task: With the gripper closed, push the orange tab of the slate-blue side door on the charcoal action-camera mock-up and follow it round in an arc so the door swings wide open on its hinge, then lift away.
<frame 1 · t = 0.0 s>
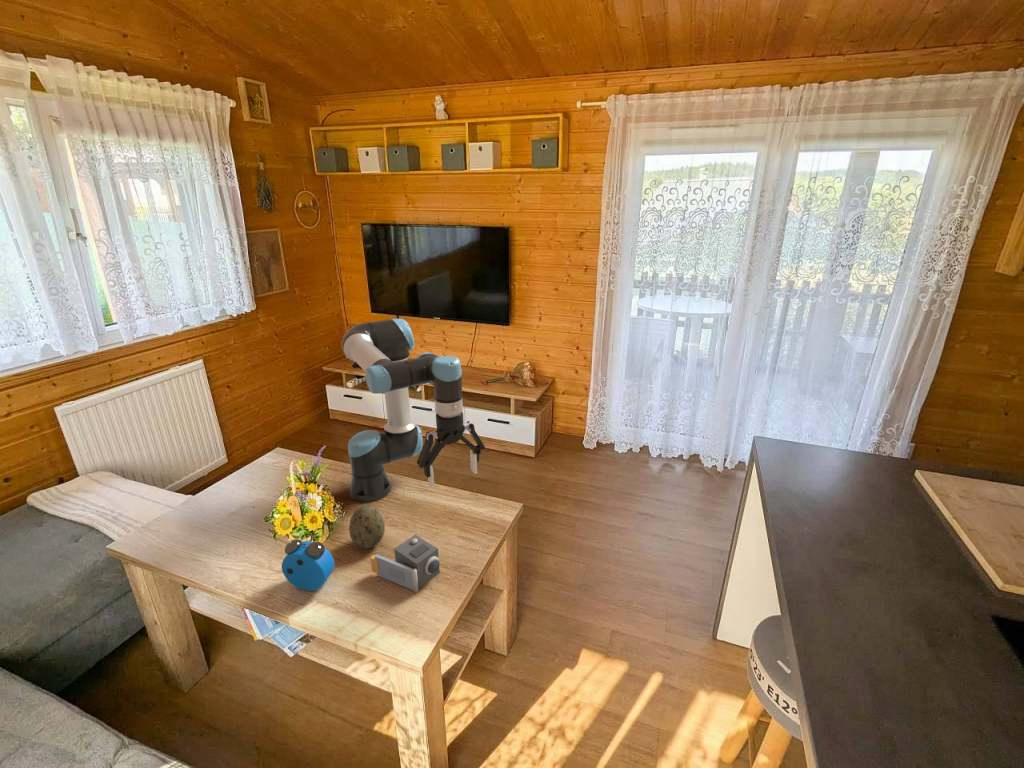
hand: (453, 478, 139), 28 cm above the table, fingers open, 13 cm apart
camera body: (418, 572, 143), on the table
decorative egg: (369, 545, 154), on the table
side door: (394, 572, 138), point 4 cm above the table, hinge at 12.0°
alarm clock: (312, 584, 139), on the table
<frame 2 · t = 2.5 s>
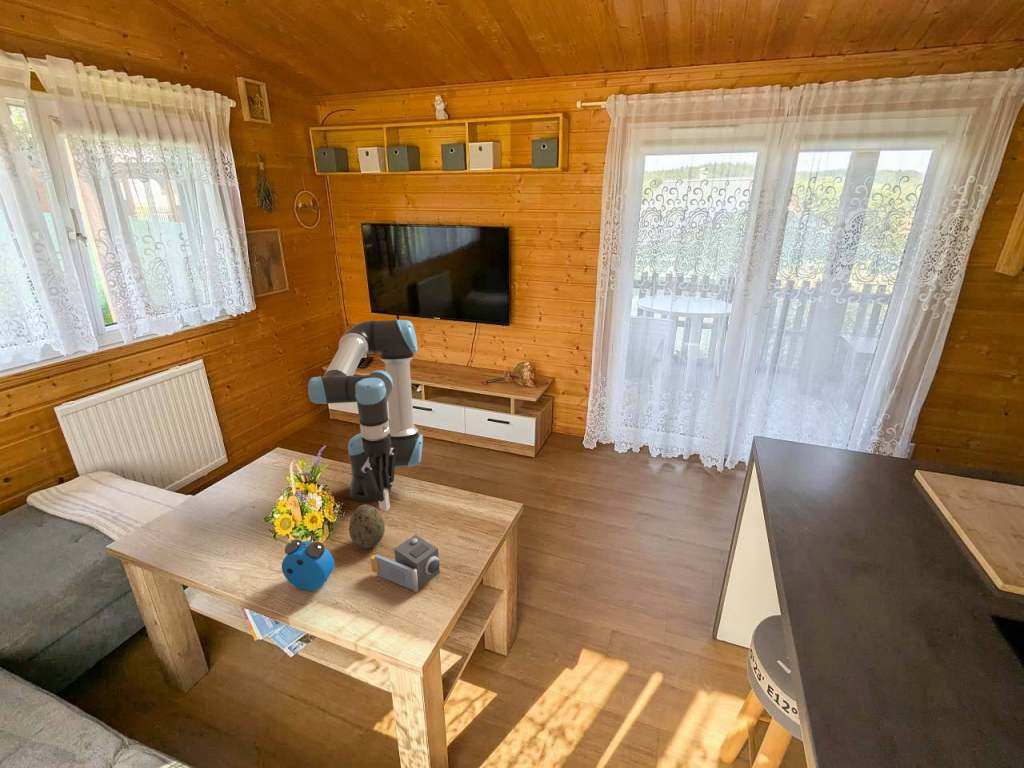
hand: (384, 507, 138), 21 cm above the table, fingers closed
nothing on the table moved.
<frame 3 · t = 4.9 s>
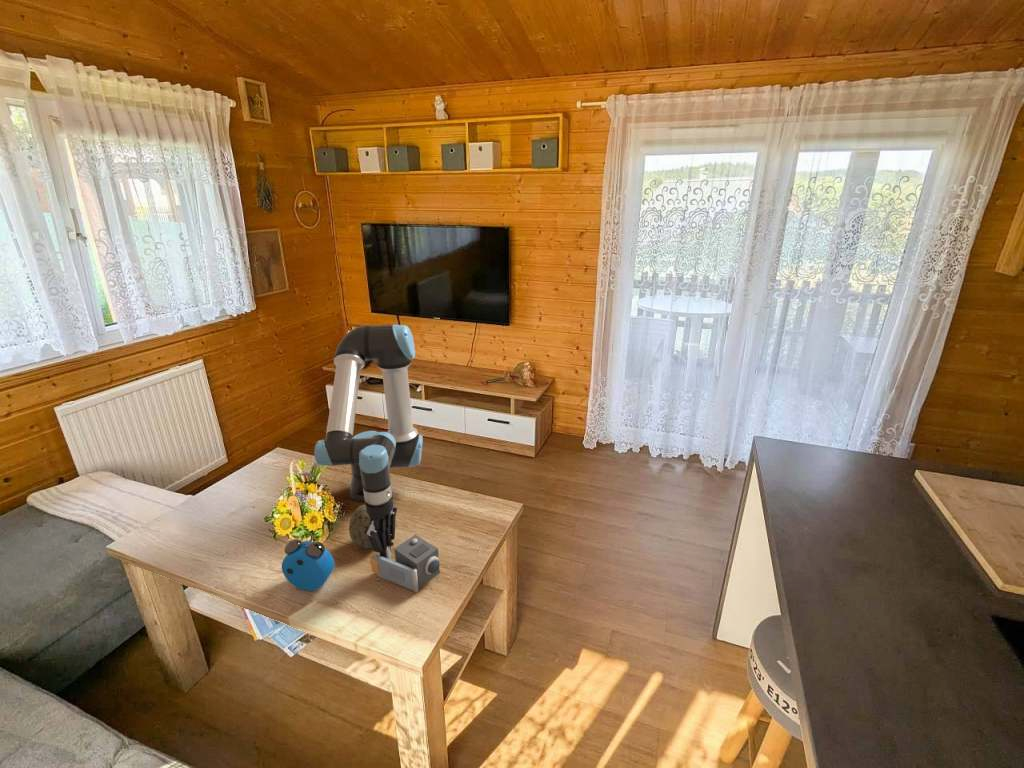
hand: (387, 564, 143), 2 cm above the table, fingers closed
side door: (394, 572, 138), point 4 cm above the table, hinge at 12.4°, touching gripper
everything else where it was.
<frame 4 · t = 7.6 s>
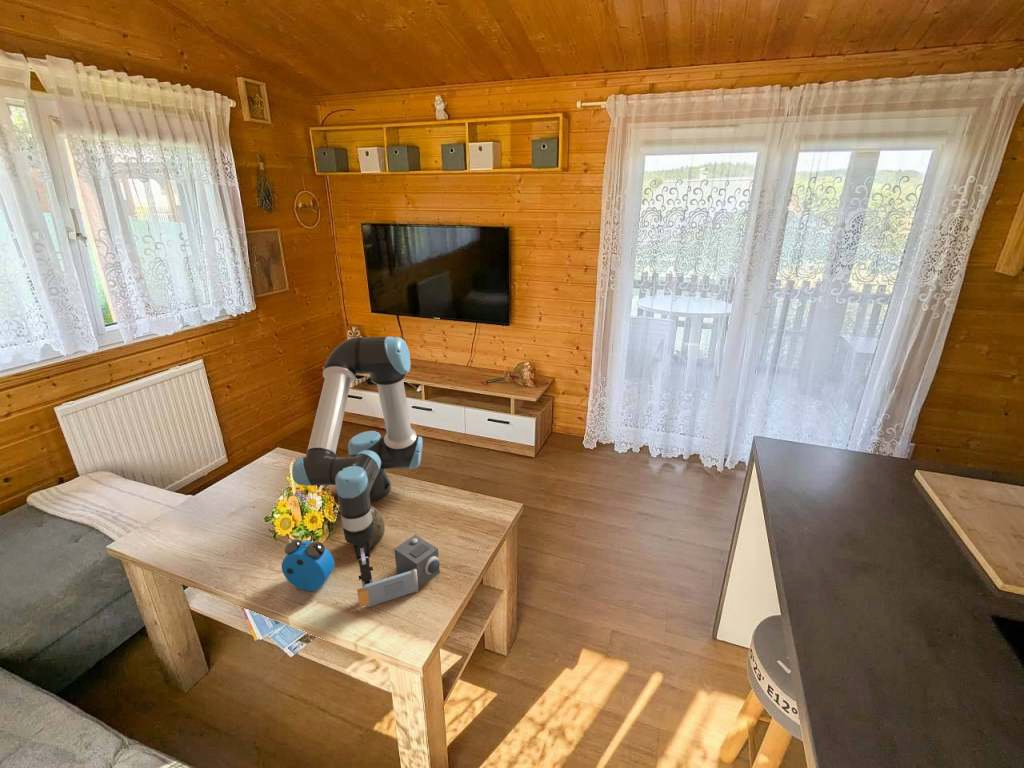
hand: (368, 592, 133), 2 cm above the table, fingers closed
side door: (388, 589, 132), point 4 cm above the table, hinge at 63.0°, touching gripper
everything else where it was.
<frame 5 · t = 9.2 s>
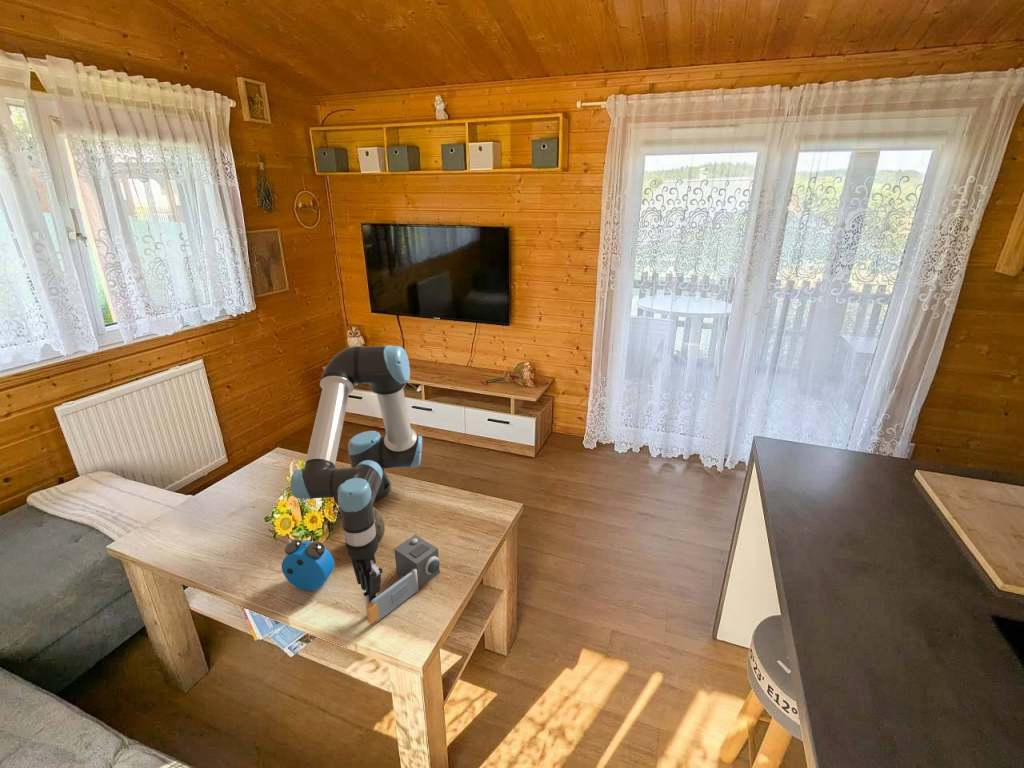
hand: (372, 608, 128), 2 cm above the table, fingers closed
side door: (394, 596, 129), point 4 cm above the table, hinge at 89.5°, touching gripper
everything else where it was.
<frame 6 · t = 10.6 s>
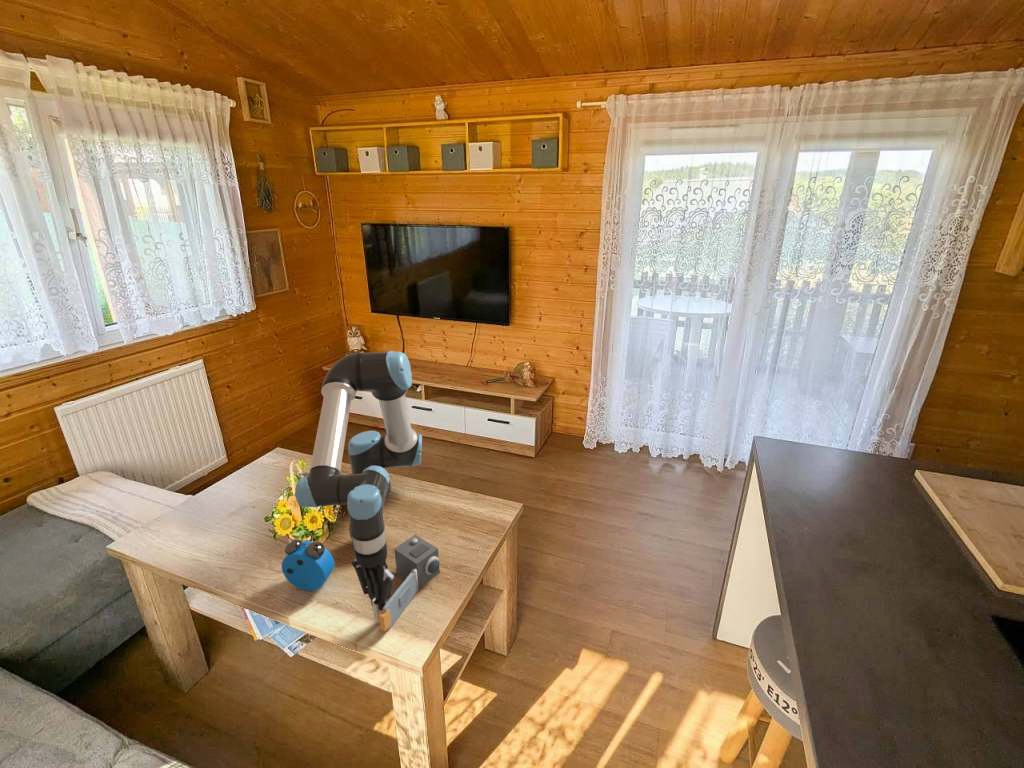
hand: (380, 616, 126), 2 cm above the table, fingers closed
side door: (400, 599, 128), point 4 cm above the table, hinge at 107.2°, touching gripper
everything else where it was.
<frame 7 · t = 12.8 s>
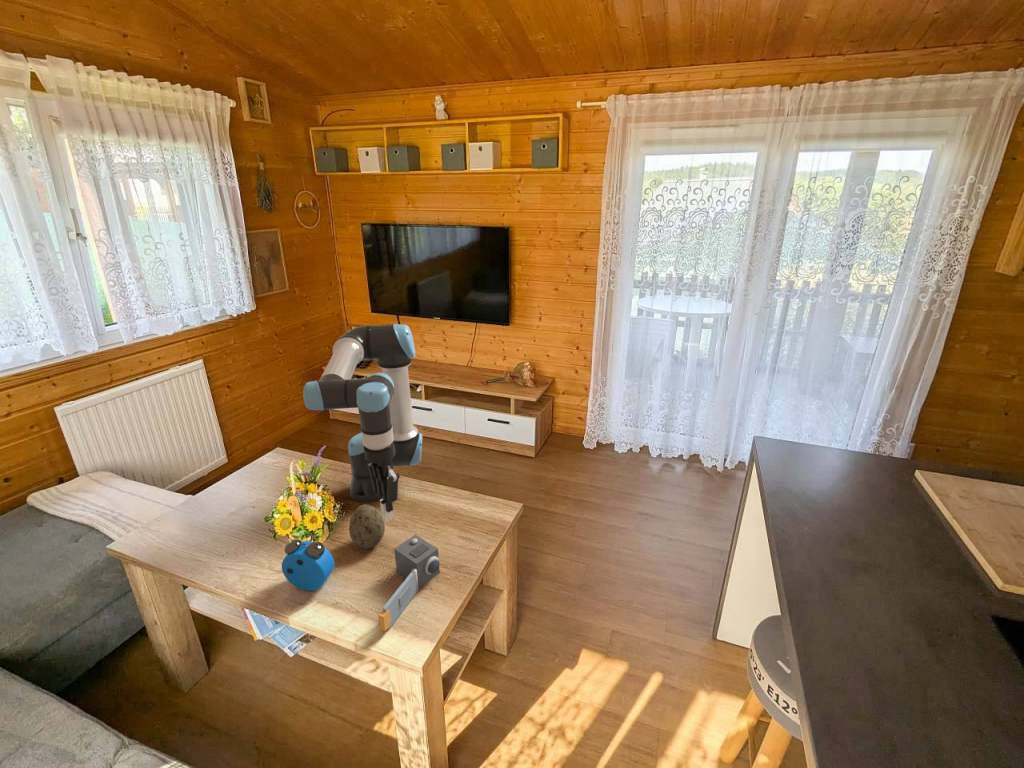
hand: (388, 518, 130), 23 cm above the table, fingers closed
side door: (400, 599, 128), point 4 cm above the table, hinge at 107.1°
everything else where it was.
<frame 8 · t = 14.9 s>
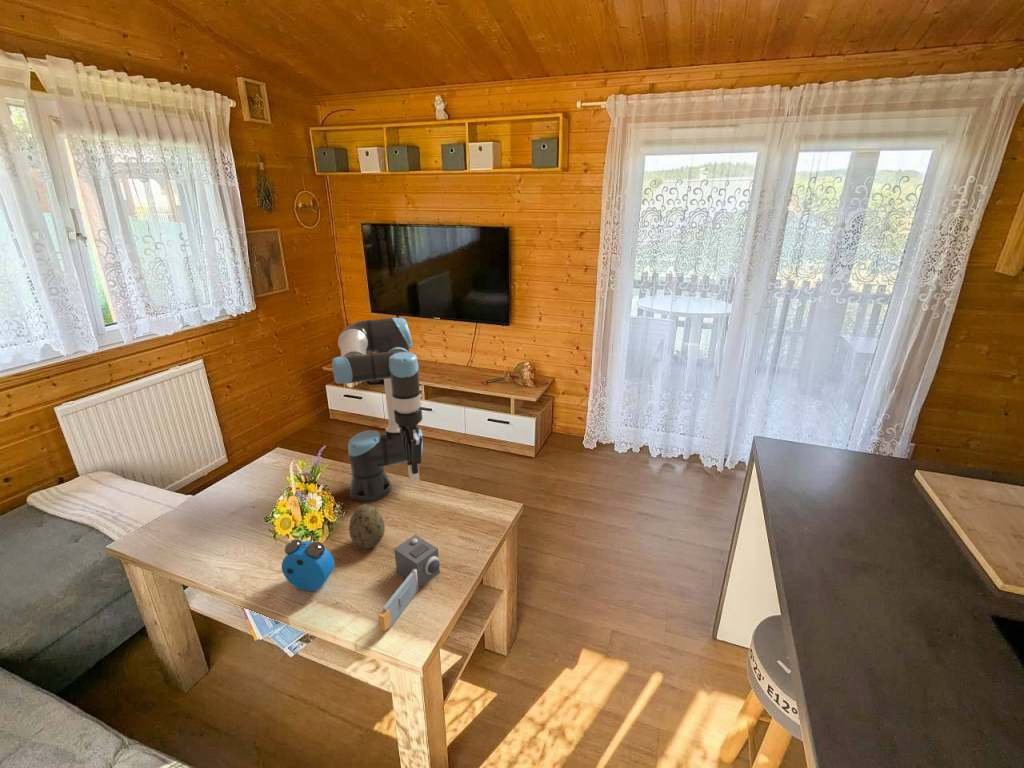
hand: (414, 480, 141), 26 cm above the table, fingers closed
nothing on the table moved.
at the end: side door at +107° (first picture: +12°) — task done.
